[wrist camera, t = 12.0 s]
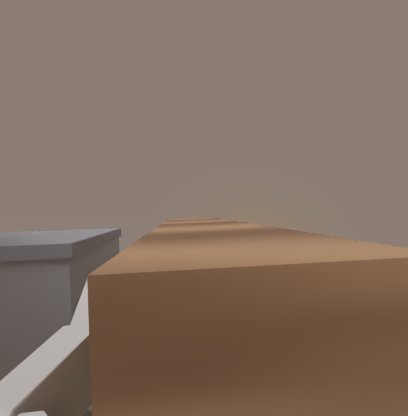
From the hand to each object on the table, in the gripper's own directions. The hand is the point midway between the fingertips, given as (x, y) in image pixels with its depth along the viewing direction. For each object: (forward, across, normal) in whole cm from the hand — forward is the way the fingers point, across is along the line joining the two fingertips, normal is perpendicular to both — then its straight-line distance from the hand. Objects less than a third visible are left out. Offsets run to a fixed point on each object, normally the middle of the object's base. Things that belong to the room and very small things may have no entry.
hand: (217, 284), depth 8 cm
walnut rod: (+4, 0, +5) cm, 6 cm away
